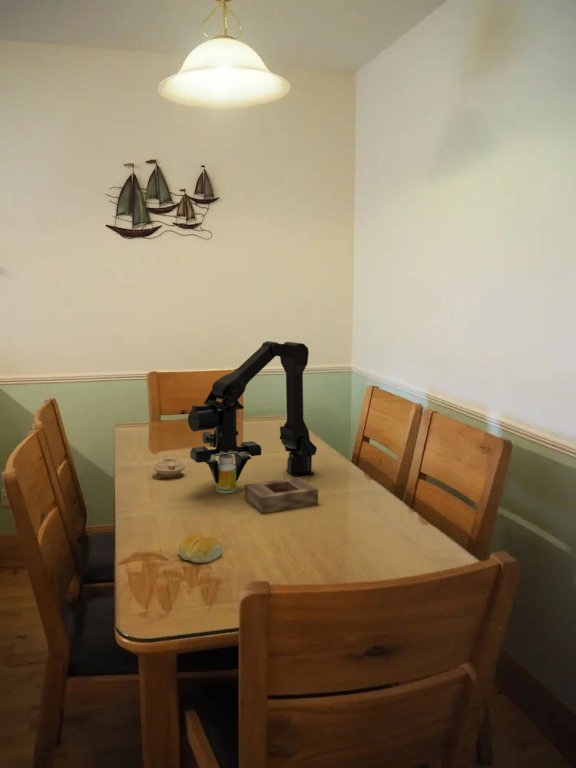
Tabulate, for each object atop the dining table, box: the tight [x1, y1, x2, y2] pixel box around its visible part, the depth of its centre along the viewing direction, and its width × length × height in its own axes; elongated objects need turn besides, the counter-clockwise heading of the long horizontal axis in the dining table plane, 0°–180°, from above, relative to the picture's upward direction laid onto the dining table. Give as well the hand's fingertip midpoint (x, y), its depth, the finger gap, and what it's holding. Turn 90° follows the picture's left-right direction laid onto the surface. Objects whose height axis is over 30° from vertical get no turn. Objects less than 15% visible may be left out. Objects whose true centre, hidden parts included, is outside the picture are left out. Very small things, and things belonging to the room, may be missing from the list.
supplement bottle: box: [215, 454, 237, 494], centre depth 165 cm, size 5×5×10 cm
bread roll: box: [178, 533, 223, 564], centre depth 126 cm, size 8×9×4 cm
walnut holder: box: [244, 476, 319, 514], centre depth 158 cm, size 16×11×4 cm
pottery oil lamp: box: [152, 455, 186, 478], centre depth 180 cm, size 9×12×7 cm
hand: (226, 481), depth 166 cm, fingers closed on supplement bottle, 5 cm apart
